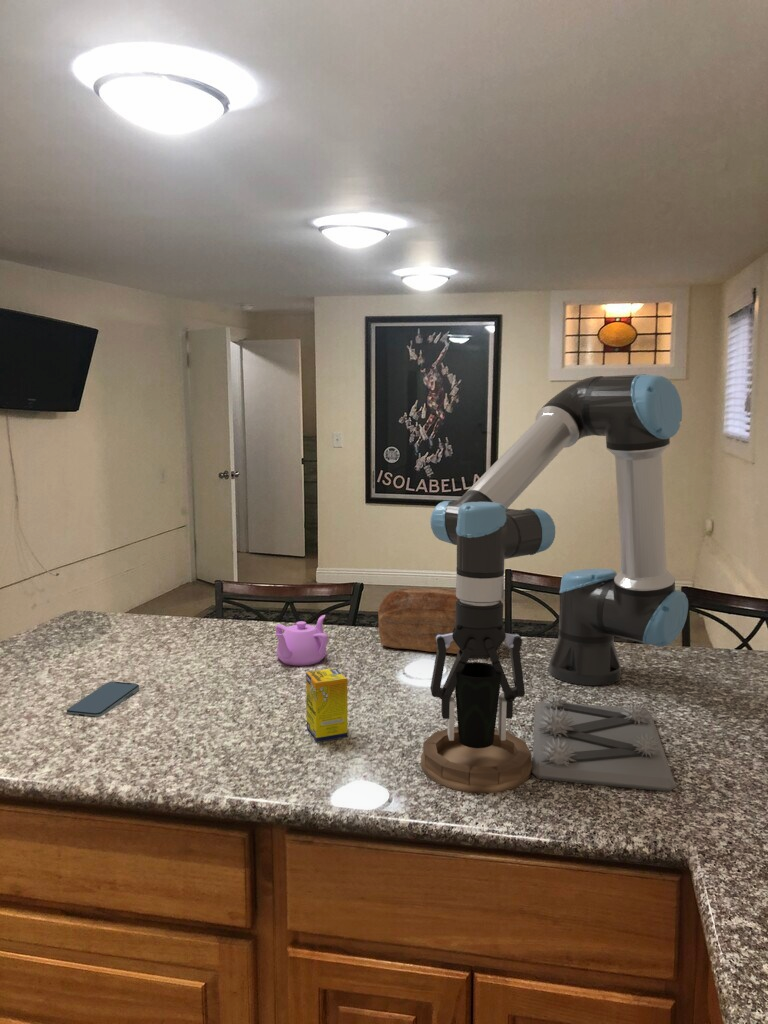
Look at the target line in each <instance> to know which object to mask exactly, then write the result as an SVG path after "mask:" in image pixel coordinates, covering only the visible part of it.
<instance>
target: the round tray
mask: <svg viewBox="0 0 768 1024" xmlns="http://www.w3.org/2000/svg"><path fill="white" fill-rule="evenodd" d="M422 744H423V745H422V746H423V747H422V753H421V756H420V767H421V770H422V772H423V773H424V775H426V777H427V778H429V779H430V780H431V781H433V782H435V783H437V784H439V785H441V786H443V787H445V788H448V789H453V790H456V791H462V792H466V793H467V792H468V793H478V794H479V793H481V794H485V793H486V794H487V793H489V794H490V793H499V792H500V793H501V792H504V791H505V792H506V791H509V790H512V789H515V788H518V787H520V786H522V785H523V784H525V783H526V782H527V781H528V780H529V779H530V778H531V775H532V774H533V773H532V770H533V760H532V752H531V751H530V748H529V747H528V746H529V745H528V744H527V742H526V741H525V740H523V739H522V738H521V737H520V738H519V737H518V736H516V735H514V734H513V733H510V732H509V731H506V740H501V739H500V737H499V734H498V729H496V728H495V732H494V741H493V744H492V745H491V746H489V747H486V748H470V747H467V746H464V745H462V744H461V743H460V742H459V733H458V726H454V741H449V737H448V728H445V729H443V730H442V729H441V730H438V731H434V732H433V733H432V734H431V735H430V736H428V738H426V739H425V740H424V741H423V743H422Z"/></svg>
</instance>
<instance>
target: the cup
mask: <svg viewBox="0 0 768 1024" xmlns="http://www.w3.org/2000/svg"><path fill="white" fill-rule="evenodd" d="M501 675H502V673H501V672H500V673H499V674H497V675H496V672H495V670H494V667H493V665H492V663H486V662H481V661H474V662H473V661H471V662H470V661H469V662H467V664H465V666H464V669H463V671H462V673H461V674H460V673H458V672H457V673H456V678H457V684H456V686H455V689H454V690H455V692H454V693H455V705H456V717H457V727H458V733H459V742H460V743H461V744H462V745H464V746H467V747H470V748H486V747H489V746H491V745H492V744H493V741H494V732H495V729H496V723H497V722H496V721H497V715H498V709H499V695H500V690H501V685H500V683H501Z"/></svg>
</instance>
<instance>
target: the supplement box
mask: <svg viewBox="0 0 768 1024" xmlns="http://www.w3.org/2000/svg"><path fill="white" fill-rule="evenodd" d="M305 683H306V684H305V687H306V690H305V691H306V695H305V696H306V700H305V701H306V730H307V731H308V732H309V733H310V734H311V736H312V737H313V738H314V740H315V741H316V742H317V743H320V742H324V741H331V740H336V739H341V738H346V737H348V736H349V735H348V728H349V727H348V678H347V677H345V676H344V675H343V674H342V672H341V671H340V670H338V668H336V667H334V668H333V667H332V668H327V669H320V670H314V671H313V670H312V671H307V672H305Z"/></svg>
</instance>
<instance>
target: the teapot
mask: <svg viewBox="0 0 768 1024" xmlns="http://www.w3.org/2000/svg"><path fill="white" fill-rule="evenodd" d="M325 617H326V614H323V615H320V616H319V617H318V620H317V622H316V625H315V626H314V625H313V624H307V622H306V621H302V620H301V621H296V623H295V624H293V625H290V626H288V627H287V626H285V625H283V624H281V623H280V624H279V623H277V624H276V625H275V634H274V635H275V636H276V637H277V639H278V641H277V642H278V643H277V647H276V656H277V658H278V659H279V660H280V662H282V663H283V664H285V665H289V666H296V667H298V666H299V667H300V666H302V667H303V666H313V665H315V664H318V663H320V662H321V661H322V660H323V659H324V658H325V656H326V655H327V645H328V641H329V635H328V634H327V633H324V629H323V628H324V626H323V623H324V619H325ZM283 631H284V632H283Z"/></svg>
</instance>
